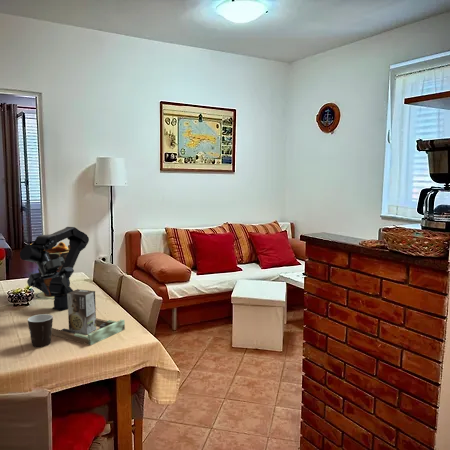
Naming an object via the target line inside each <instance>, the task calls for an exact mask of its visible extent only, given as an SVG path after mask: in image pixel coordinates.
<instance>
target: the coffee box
mask: <svg viewBox="0 0 450 450" xmlns="http://www.w3.org/2000/svg"><path fill="white" fill-rule="evenodd" d="M67 299H68V309H67V313H68V314H67V315H68V329H69V330H72V331H75V334H76V333H79V334H82V335H88V334H89V333H92V332H94V331H96V330H97V324H96V318H97V311H96V310H97V309H96V291H95V290H87V289H78V288H77V289H73V291H72V292H70V293H67Z"/></svg>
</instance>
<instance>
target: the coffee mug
mask: <svg viewBox="0 0 450 450" xmlns="http://www.w3.org/2000/svg"><path fill="white" fill-rule="evenodd" d="M53 322H54V316H53V315H52V314H48V313H45V314H44V313H43V314H41V313H40V314H35V315H32V316H29V317H28V318H27V324H28V325H27V326H28V331H29V336H30V340H31V346H32V347H33V348H44V347H47V346H49V345H51V343H52V335H51V334H52V328H53Z"/></svg>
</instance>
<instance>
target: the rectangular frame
mask: <svg viewBox="0 0 450 450" xmlns="http://www.w3.org/2000/svg"><path fill="white" fill-rule="evenodd" d="M97 325H98V326H99V329H96V330H94V331H92V332H90V333H89V334H82V333H75V331H72V330H69V328H62V329H58V328H53V327H52V334H51V336H56V337H59V338H62V339H66V340H70V341H74V342H76V343H81V344H84V345H87V346H92V345H95V344H97V343H99V342H101V341H103V340H105V339H108V338H109V337H112V336H114V335H117V334H118V333H120V332H122V331H125V330H126V326H125V319H120V320H118V321H116V320H111V319H108V320H105V319H101V318H97V317H96V326H97Z"/></svg>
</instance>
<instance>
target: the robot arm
mask: <svg viewBox="0 0 450 450" xmlns="http://www.w3.org/2000/svg"><path fill="white" fill-rule="evenodd" d="M89 238H90V237H89V236H88V235H87V234H86V233H85V232H83V231H81V230H79V229H78V228H77V227H75V226H66V227H65V228H62V229H60V230H57V231H56V232H53V233H50V234H40V235H38V236H36V238H35V239H34V241H33V242H32V243H30V244H31V245H30V244H29V243H27V244H25V246H24V247H22V249H21V250H20V252H19V258H20V259H21V260H23V261H27V262H30V263H35V262H36V263H37V264H36V263H35V264H36V265H37V267H38V268H37V270H38V272H35V273H30V274H29V277H28V279H27V281H26V283H27V285H28V287H32V288H34V289H35V288H36V289H38V290H39V291H40V290H41V291H40V292H44V293H45V294H47V295H49V291H50V294H51V296H54V300H53V307H52V310H56V311H64V310H65V311H66V310H68V299H67V293H70V292H72V291H74V289H72V287H70V286H71V282H70V278H71V276H72V275H73V273H74V272H75V270H74V267H75V265H76V263H77V260H78V257H79V255H80V253H81V252H82V251H83V250H85V248H86V247H87V245H88V244H89V242H90V239H89ZM66 239H67V240H68V241H69V243H68V245H70V249H69V252H68V254H67V256H66V259H65V261H64V259H63V257H59V258H57V259H54V260H51V259H50V257H49V254H50V253H49V252H47V251H45V250H48V249H52V248H53V247H56V246H57V245H58V244H59V243H60V242H63V240H66ZM60 266H62V268H61V270H60V272H57V270H59V268H58V267H60ZM39 271H41V273H42V275H41V273H39ZM49 278H52V279H51V281H50V285H49V291H48V289H47V287H46V285H45V283H44V279H49Z"/></svg>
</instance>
